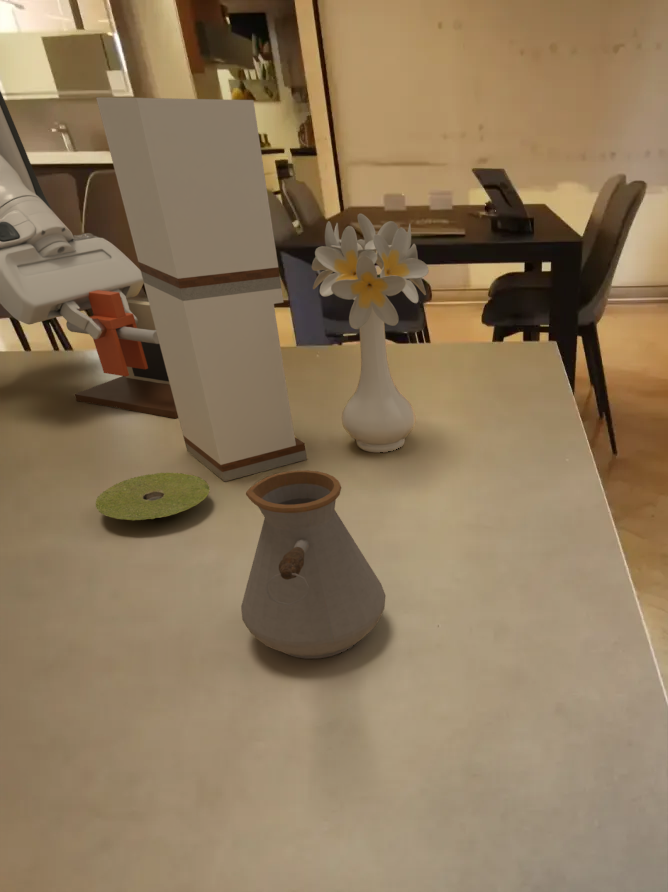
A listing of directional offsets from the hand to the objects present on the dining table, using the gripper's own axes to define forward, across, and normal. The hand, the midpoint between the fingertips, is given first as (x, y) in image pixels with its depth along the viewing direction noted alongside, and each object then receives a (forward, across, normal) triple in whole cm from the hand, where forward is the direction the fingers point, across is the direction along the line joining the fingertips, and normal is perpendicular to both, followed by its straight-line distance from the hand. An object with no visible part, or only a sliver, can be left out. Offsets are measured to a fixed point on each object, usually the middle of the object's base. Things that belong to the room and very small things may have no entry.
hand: (117, 330), depth 94 cm
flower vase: (+35, -1, +20) cm, 41 cm away
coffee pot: (+47, +41, +32) cm, 70 cm away
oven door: (+7, -3, -8) cm, 11 cm away
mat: (+26, +25, +11) cm, 37 cm away
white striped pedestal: (+25, +9, +10) cm, 29 cm away
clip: (+3, 0, -4) cm, 5 cm away
